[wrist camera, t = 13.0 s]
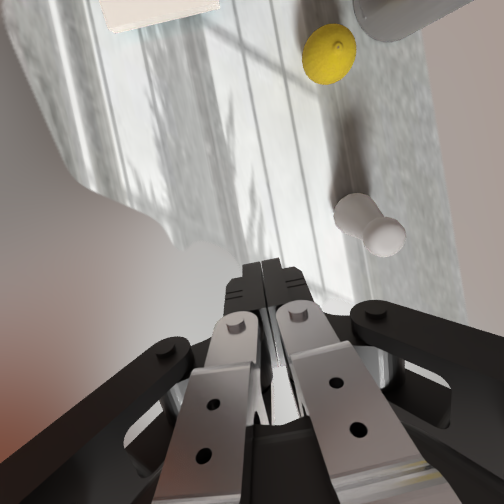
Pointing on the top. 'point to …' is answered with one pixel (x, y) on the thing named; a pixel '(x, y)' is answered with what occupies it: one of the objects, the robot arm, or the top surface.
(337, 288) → the top surface
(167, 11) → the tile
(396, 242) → the salt shaker
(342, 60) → the lemon
